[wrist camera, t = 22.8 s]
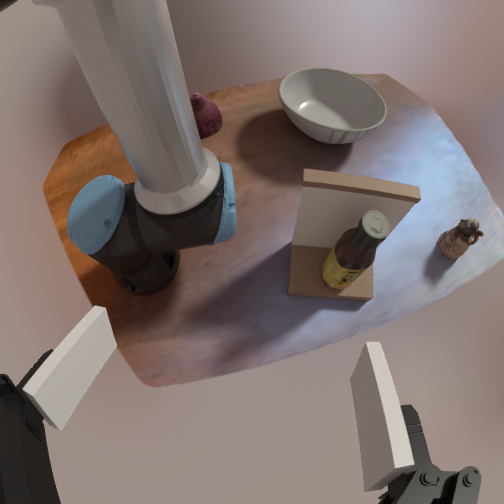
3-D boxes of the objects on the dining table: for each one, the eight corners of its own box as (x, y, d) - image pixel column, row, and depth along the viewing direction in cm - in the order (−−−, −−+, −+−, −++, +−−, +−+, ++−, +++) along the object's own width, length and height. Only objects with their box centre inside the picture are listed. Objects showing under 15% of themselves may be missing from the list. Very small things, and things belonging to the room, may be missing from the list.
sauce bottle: (332, 297, 48) (371, 260, 29) (313, 270, 50) (339, 218, 31) (359, 278, 49) (406, 233, 30) (340, 252, 51) (375, 195, 32)
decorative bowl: (355, 183, 60) (370, 149, 49) (258, 137, 66) (256, 101, 55) (384, 124, 68) (396, 94, 56) (303, 89, 74) (306, 58, 63)
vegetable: (221, 143, 70) (220, 112, 55) (183, 143, 69) (174, 112, 55) (223, 113, 71) (223, 79, 57) (187, 112, 71) (181, 80, 56)
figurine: (452, 229, 55) (478, 206, 43) (464, 254, 52) (492, 234, 41) (434, 237, 54) (461, 213, 43) (446, 264, 52) (476, 244, 40)
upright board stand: (285, 294, 51) (300, 247, 30) (290, 241, 55) (303, 168, 34) (368, 301, 50) (430, 261, 28) (368, 249, 54) (418, 186, 32)
